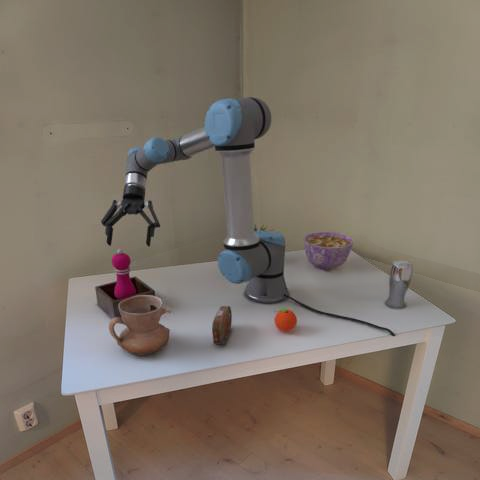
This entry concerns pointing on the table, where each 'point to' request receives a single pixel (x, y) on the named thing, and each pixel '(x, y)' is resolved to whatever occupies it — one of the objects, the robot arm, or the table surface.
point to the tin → (222, 325)
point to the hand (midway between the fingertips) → (128, 244)
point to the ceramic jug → (141, 325)
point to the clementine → (285, 320)
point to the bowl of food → (327, 249)
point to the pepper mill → (122, 275)
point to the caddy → (111, 303)
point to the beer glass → (399, 283)
